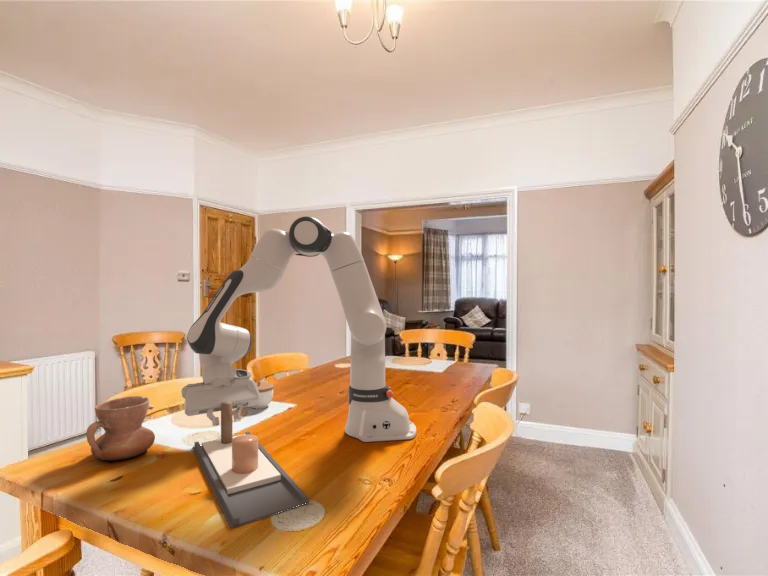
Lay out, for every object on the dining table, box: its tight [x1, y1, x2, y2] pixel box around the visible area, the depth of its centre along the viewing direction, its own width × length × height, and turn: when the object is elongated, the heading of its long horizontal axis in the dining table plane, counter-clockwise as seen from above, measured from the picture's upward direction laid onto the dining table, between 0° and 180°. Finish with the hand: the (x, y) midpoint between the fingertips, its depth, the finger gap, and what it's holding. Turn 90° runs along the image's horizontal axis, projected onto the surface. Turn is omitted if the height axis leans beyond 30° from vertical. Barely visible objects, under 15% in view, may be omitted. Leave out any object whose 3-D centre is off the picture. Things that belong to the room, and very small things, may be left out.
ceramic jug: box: [86, 395, 156, 461], centre depth 109 cm, size 18×14×14 cm
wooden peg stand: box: [201, 401, 281, 495], centre depth 104 cm, size 30×12×12 cm, turn 34°
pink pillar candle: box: [232, 434, 259, 474], centre depth 98 cm, size 6×6×7 cm
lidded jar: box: [249, 380, 275, 410], centre depth 151 cm, size 11×11×9 cm
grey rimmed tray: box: [192, 431, 310, 529], centre depth 100 cm, size 44×16×2 cm, turn 34°
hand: (227, 422), depth 113 cm, fingers open, 4 cm apart
